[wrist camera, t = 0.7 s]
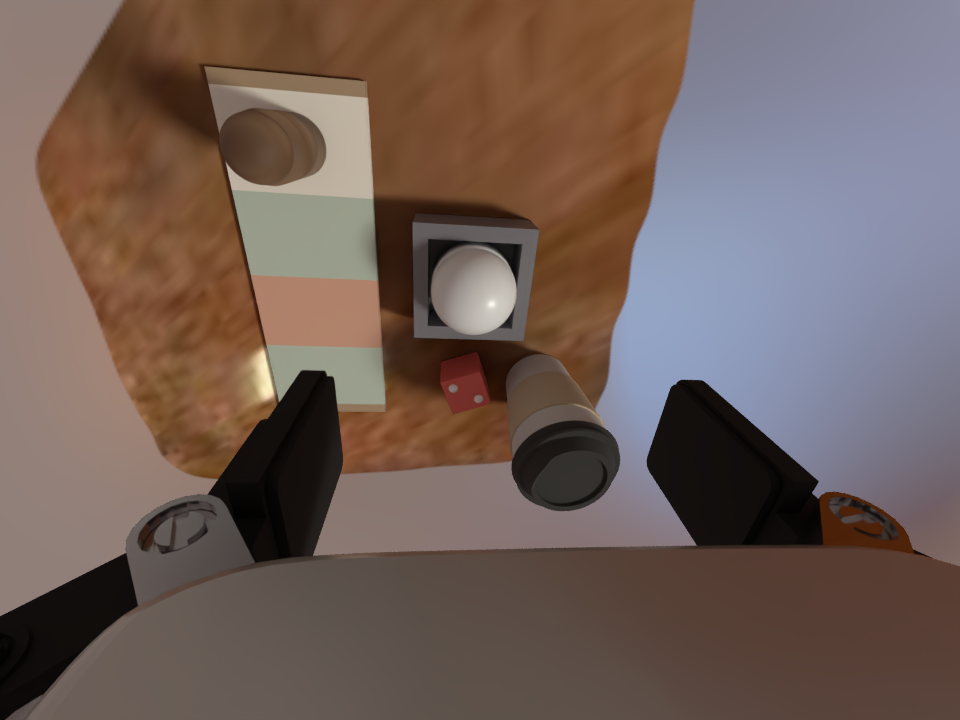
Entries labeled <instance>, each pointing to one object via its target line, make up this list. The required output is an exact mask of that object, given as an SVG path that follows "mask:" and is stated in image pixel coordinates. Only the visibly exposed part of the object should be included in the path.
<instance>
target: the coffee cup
mask: <svg viewBox="0 0 960 720" xmlns="http://www.w3.org/2000/svg"><path fill="white" fill-rule="evenodd" d="M506 392H507V413H508V426H509V438H510V450H511V454H512V457H513V460H512V475H513V478H514V480H515V482H516V483H517V486H518V488H519V490H520V492H521V493H522V494H523V496H524V497H525V498H527V499H528V500H529V501H531V502H533V503H535V504H537V505H540V506H543V507H545V508H548V509H551V510H555V511H570V510H576V509H580V508H583V507H585V506H588V505H590V504H592V503H593V502H595V501H596V500H598V499H599V498H600V497H602V496H603V495H604V493H605V492H606V491H607V490H608V488H609V487H610V485H611V482H612V481H613V479H614V477H615V476H616V474H617V472H618V469H619V465H620V454H619V448H618V444H617V442H616V440H615V438H614V437H613V435H612V434H611V433H610V432H609V431H608V430H606V429H605V426H604V423H603V421H602V420H601V418H600V417H599V415H598V414H597V412H596V411H595V409H594V408H593V406H592V405H591V403H590V402H589V400H588V399H587V398H586V396H585V395H584V393H583V392H582V390H581V389H580V387H579V386H578V384H577V383H576V382H575V381H574V380H573V379H572V378H571V377H570V375H569V374H568V372H567V371H566V369H565V368H564V366H563V365H562V363H561V362H560V361H559V360H557V359H556V358H554V357H552V356H549V355H545V354H535V355H531V356H527V357H525V358H523V359H521V360H520V361H518V362H517V363H516V364H515V365H514V366H513V367H512V368H511V369H510V371H509V373H508V375H507V378H506Z"/></svg>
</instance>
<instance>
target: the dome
mask: <svg viewBox="0 0 960 720" xmlns="http://www.w3.org/2000/svg"><path fill="white" fill-rule="evenodd" d="M516 294H517V289H516V282H515V278H514V275H513V273H512V271H511V269H510V266H509V264H508V262H507V260H506V259H505V257H504V256H503V255H502V254H501V252H500V251H498V250H497V249H496V248H495V247H493V246H491V245H489V244H487V243H484V242H475V241H465V242H461V243H458V244H455V245H453V246H451V247H450V248H448V249H447V250H446V251H445V252H444V253H443V254H442V255H441V256H440V257H439V259H438V260H437V262H436V264H435V267H434V269H433V274H432V284H431V298H432V303H433V306H434V309H435V311H436V313H437V315H438V316H439V317H440V319H441V320H442V321H443V322H444V323H445V324H446V325H447V326H448V327H450V328H451V329H453V330H455V331H457V332H460V333H463V334H468V335H480V334H485V333H488V332H490V331H493V330H495V329H496V328H498V327H499V326H501V325H502V324H503V323H504V322H505V321H506V320H507V318H508V317H509V315H510V314H511V312H512V310H513V308H514V305H515V301H516Z"/></svg>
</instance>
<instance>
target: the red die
mask: <svg viewBox="0 0 960 720" xmlns="http://www.w3.org/2000/svg"><path fill="white" fill-rule="evenodd" d="M440 384H441V386H442V389H443V391H444V393H445V396H446V398H447V401H448V403H449V406H450V408H451V411H452V413H453V414H455V413H459V412H462V411H466V410H469V409H473V408H477V407H480V406H484V405H488V404H491V402H490V396H489V390H488V384H487V380H486V377H485V374H484V371H483V368H482V365H481V362H480V359H479V356H478V353H477V352H474V353H470V354H467V355H463V356H460V357H456V358H453V359H449V360H446V361H442V362H441V369H440Z"/></svg>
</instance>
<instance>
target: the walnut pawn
mask: <svg viewBox="0 0 960 720" xmlns="http://www.w3.org/2000/svg"><path fill="white" fill-rule="evenodd" d="M219 145H220V150H221V153H222V155H223V158H224V160H225V161H226V163H227V164H228V166H229V167H230V168H231V169H232V170H233V171H234V172H235V173H236V174H237V175H238V176H240V177H241V178H243V179H244V180H246V181H248V182H251V183H254V184H258V185H268V186H281V185H284V184H287V183H290V182H293V181H296V180H299V179H302V178H305V177H309V176H312V175H314V174H315V173H317V172H318V171H319V170H320V169H321V168H322V166H323V164H324V162H325V159H326V144H325V140H324V138H323V135H322V133H321V131H320V130H319V128H318V127H317V126H316V125H315V124H314V123H313V122H312V121H311V120H310V119H309V118H307V117H306V116H304V115H302V114H299V113H295V112H288V111H280V110H271V109H263V108H250V109H246V110H244V111H242V112H238V113H235V114H233V115H231V116H230V117H229V118H227V119H226V121H225V122H224V123H223V125H222V127H221V129H220V133H219Z"/></svg>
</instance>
